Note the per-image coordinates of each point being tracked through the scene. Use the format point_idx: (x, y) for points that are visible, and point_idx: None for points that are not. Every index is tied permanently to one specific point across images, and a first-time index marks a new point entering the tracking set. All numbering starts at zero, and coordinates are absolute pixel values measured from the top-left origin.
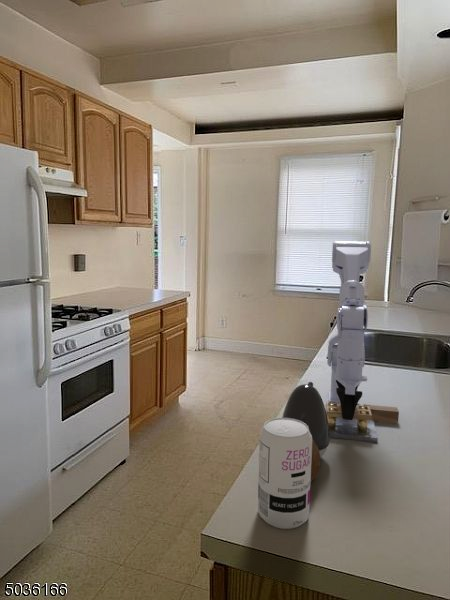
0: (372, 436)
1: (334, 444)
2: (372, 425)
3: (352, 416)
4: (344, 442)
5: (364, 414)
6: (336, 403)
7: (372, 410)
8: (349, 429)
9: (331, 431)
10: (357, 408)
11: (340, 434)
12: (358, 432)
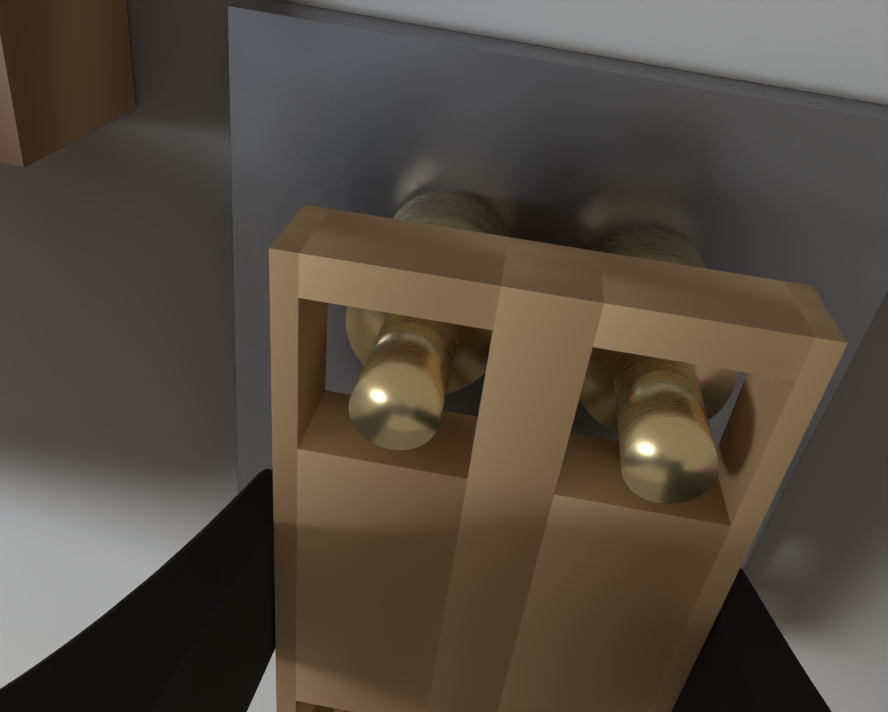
0: (885, 201)
1: (879, 591)
2: (455, 83)
3: (767, 621)
4: (848, 500)
5: (763, 466)
6: (283, 701)
7: (14, 8)
8: (616, 435)
9: None
10: (448, 499)
11: (750, 549)
12: None
